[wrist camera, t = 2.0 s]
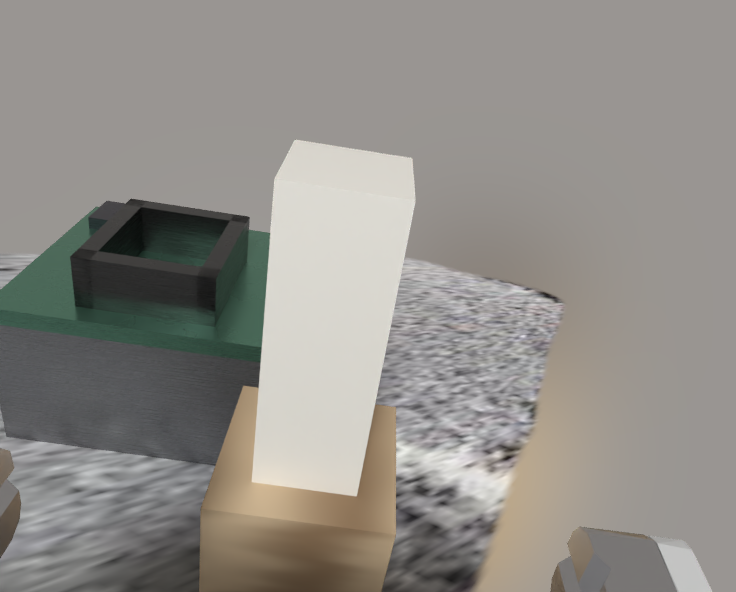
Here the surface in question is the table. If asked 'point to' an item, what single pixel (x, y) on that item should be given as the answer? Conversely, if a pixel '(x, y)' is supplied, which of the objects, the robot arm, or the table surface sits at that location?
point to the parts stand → (297, 520)
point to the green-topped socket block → (136, 332)
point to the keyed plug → (328, 311)
